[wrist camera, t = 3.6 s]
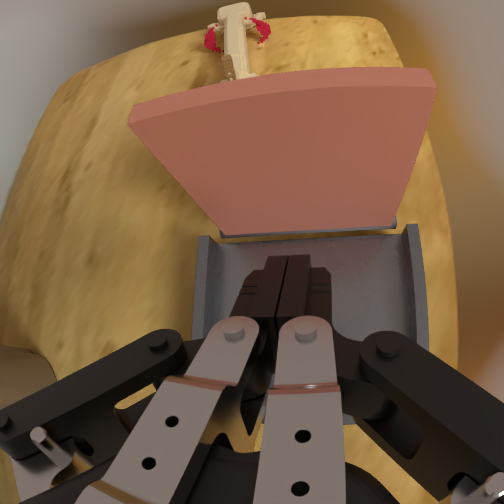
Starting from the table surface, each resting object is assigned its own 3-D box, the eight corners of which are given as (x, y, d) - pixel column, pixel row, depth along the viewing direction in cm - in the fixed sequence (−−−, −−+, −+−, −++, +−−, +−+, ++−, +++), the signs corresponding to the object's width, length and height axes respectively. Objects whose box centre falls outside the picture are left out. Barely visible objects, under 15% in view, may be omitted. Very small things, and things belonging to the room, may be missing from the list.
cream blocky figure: (286, 109, 35) (266, 10, 41) (273, 58, 27) (254, -29, 33) (209, 124, 37) (211, 23, 43) (181, 81, 29) (194, -13, 35)
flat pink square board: (394, 230, 23) (448, 88, 9) (223, 240, 26) (118, 126, 12) (391, 209, 23) (432, 60, 10) (225, 219, 27) (128, 98, 13)
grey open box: (410, 406, 21) (426, 417, 16) (213, 406, 25) (189, 415, 20) (404, 245, 25) (417, 223, 21) (219, 255, 29) (198, 236, 25)
